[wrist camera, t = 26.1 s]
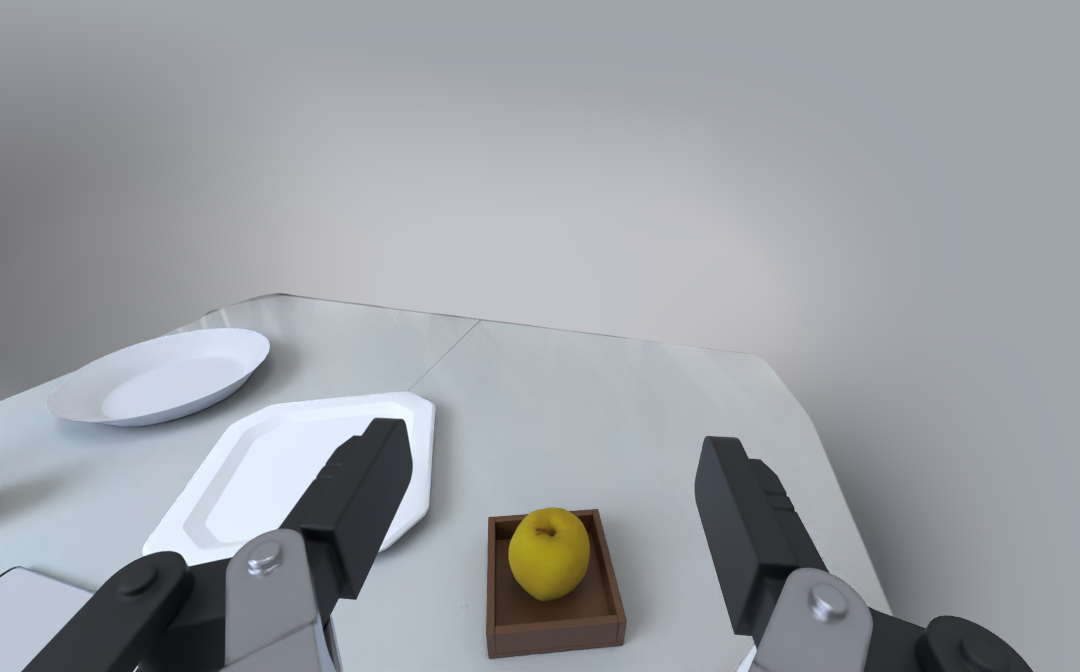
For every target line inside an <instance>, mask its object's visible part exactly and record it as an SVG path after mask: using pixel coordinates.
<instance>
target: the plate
mask: <svg viewBox="0 0 1080 672" xmlns="http://www.w3.org/2000/svg"><path fill="white" fill-rule="evenodd" d="M374 418H396V419H403V420H404V421H405V423H406V426H407V432H408V437H409V443H410V449H411V454H412V460H413V472H412V477H411V481H410V484H409V486H408V489H407V491H406V493H405V495H404V497H403V499H402V502H401V504H400V506H399V508H398V510H397V512H396V515H395V517H394V519H393V521H392V523H391V525H390V528H389V530H388V532H387V534H386V536H385V538H384V541H383V543H382V545H381V547H380V549H379V551H378V553H379V552H381V551H383V550H385V549H387V548H389V547H390V546H391V545H392V544H393V543H394V542H395V541H397V540H398V539H399V538H400V537H401V536H402V535H403V534H404V533H406V532H407V531H408V530H409V529H410V528H411V527H412V526H414V525H415V524H416V523H417V522H418V521H419V520H420V519H421V518H423V517H424V516H425V515H426V513H427V511H428V509H429V501H430V486H431V470H432V454H433V439H434V423H435V405H434V404H433V403H432V402H430V401H428V400H426V399H424V398H422V397H419V396H417V395H415V394H413V393H411V392H406V391H402V392H392V393H381V394H371V395H361V396H351V397H340V398H330V399H320V400H310V401H299V402H289V403H279V404H273V405H270V406H268V407H266V408H264V409H262V410H259V411H257V412H255V413H253V414H251V415H249V416H247V417H245V418H243V419H241V420H239V421H237V422H235V423H233V424H232V425H231V426H229V427H228V428H227V430H226V431H225V433H224V434H223V435H222V437H221V438H220V440H219V441H218V442H217V444H216V445H215V447H214V448H213V449H212V451H211V452H210V454H209V455H208V456H207V458H206V459H205V461H204V462H203V463H202V465H201V466H200V468H199V469H198V470H197V472H196V473H195V475H194V476H193V477H192V479H191V480H190V482H189V483H188V484H187V486H186V487H185V489H184V490H183V491H182V493H181V494H180V496H179V497H178V498H177V500H176V501H175V503H174V504H173V505H172V507H171V508H170V510H169V511H168V512H167V514H166V515H165V517H164V518H163V519H162V521H161V522H160V524H159V525H158V526H157V528H156V529H155V531H154V532H153V533H152V535H151V536H150V538H149V539H148V540H147V542H146V543H145V544H144V547H143V552H142V553H143V555H144V556H146V555H149V554H152V553H156V552H161V551H174V552H177V553H179V554H181V555H182V556H183V558H184V559H185V561H186V563H187V564H188V566H193V565H197V564H202V563H207V562H212V561H216V560H221V559H226V558H230V557H233V556H234V555H235V553H236V552H237V551H238V550H239V549H240V548H241V547H242V546H244V545H245V544H246V543H247V542H249V541H250V540H252V539H253V538H255V537H257V536H259V535H261V534H263V533H265V532H268V531H271V530H276V529H278V528H279V527H280V525H281V524H282V522H283V521H284V520H285V518H286V517H287V516H288V514H289V513H290V511H291V510H292V509H293V507H294V506H295V505H296V503H297V502H298V500H299V499H300V498H301V496H302V495H303V494H304V492H305V491H306V489H307V488H308V487H309V485H310V484H311V483H312V481H313V480H314V479H316V476H317V474H318V473H319V472H320V470H321V469H322V467H323V466H325V465H326V462H327V461H328V459H329V458H330V456H331V455H332V454H333V452H334V451H335V450H336V448H337V447H339V446H340V445H341V444H343V443H344V442H345V441H347V440H348V439H349V438H351V437H352V436H353V435H357V436H362V434H363V433H364V431H365V430H366V428H367V427H368V425H369V424H370V422H371V421H372V420H373V419H374Z"/></svg>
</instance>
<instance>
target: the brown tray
mask: <svg viewBox="0 0 1080 672" xmlns="http://www.w3.org/2000/svg"><path fill="white" fill-rule="evenodd" d="M569 512H570V513H572V514H574V515H575V516H576V517H577V518H579V520H580V521H581V522H582V523H583V525H584V527H585V529H586V532H587V535H588V539H589V544H590V555H589V564H588V568H587V571H586V574H585V576H584V577H583V579H582V580H581V582H580V583H579V584H578V585H577V586H576V587H575V588H574V590H573V591H571V592H570V593H568V594H566V595H564V596H563V597H561V598H558V599H554V600H549V601H540V600H538V599H536V598H535V597H534V596H532V595H531V594H529V593H528V592H527V591H526V590H525V589H524V588H523V587H522V586H521V585H520V584H519V583H518V582H517V580H516V579H515V577H514V575H513V572H512V570H511V567H510V563H509V546H510V542H511V539H512V537H513V535H514V533H515V531H516V529H517V527H518V526H519V524H520V523H521V522H522V520H523V519H524V518H525V517H526V516H527V515H528V514H525V515H512V516H499V517H489V518H488V570H487V624H486V637H487V647H488V656H489V659H491V658H501V657H511V656H521V655H531V654H541V653H551V652H561V651H571V650H581V649H591V648H601V647H611V646H621V645H623V642H624V635H625V629H626V622H627V621H626V617H625V613H624V609H623V605H622V601H621V597H620V593H619V590H618V586H617V582H616V578H615V574H614V570H613V566H612V562H611V558H610V554H609V550H608V547H607V543H606V539H605V535H604V531H603V527H602V523H601V519H600V515H599V511H598V509H592V510H579V511H569Z"/></svg>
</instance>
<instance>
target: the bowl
mask: <svg viewBox="0 0 1080 672" xmlns="http://www.w3.org/2000/svg"><path fill="white" fill-rule="evenodd" d="M269 348H270V345H269V342H268V340H267V339H266V338H265V337H264V336H263V335H261V334H259V333H257V332H254V331H250V330H245V329H235V328H217V329H204V330H196V331H189V332H183V333H178V334H173V335H168V336H164V337H160V338H156V339H152V340H149V341H146V342H142V343H139V344H136V345H133V346H130V347H127V348H124V349H121V350H119V351H116V352H114V353H111V354H109V355H106V356H104V357H102V358H100V359H98V360H96V361H93V362H92V363H89V364H88V365H86V366H84V367H82V368H80V369H79V370H77V371H75V372H74V373H72V374H71V375H69V376H68V377H67V378H65V379H64V380H63V381H61V382H60V383H59V384H58V385H57V386H56V387H55V388H54V389H53V390H52V392H51V393H50V395H49V397H48V400H47V407H48V409H49V411H50V412H51V413H52V414H54V415H55V416H57V417H60V418H63V419H66V420H72V421H80V422H96V423H103V424H110V425H115V426H126V427H132V426H145V425H152V424H158V423H163V422H167V421H171V420H175V419H178V418H182V417H185V416H188V415H191V414H193V413H196V412H199V411H201V410H203V409H206V408H208V407H210V406H212V405H214V404H216V403H218V402H220V401H222V400H223V399H225V398H227V397H228V396H230V395H231V394H233V393H234V392H235V391H237V390H238V389H239V388H240V387H241V386H242V385H243V384H244V383H245V382H246V380H247V379H248V378H249V377H250V375H251V374H252V373H253V371H254V370H255V369H256V367H258V366H259V365H260V364H261V363H262V361H263V360H264V359H265V357H266V356H267V354H268V352H269Z"/></svg>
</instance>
